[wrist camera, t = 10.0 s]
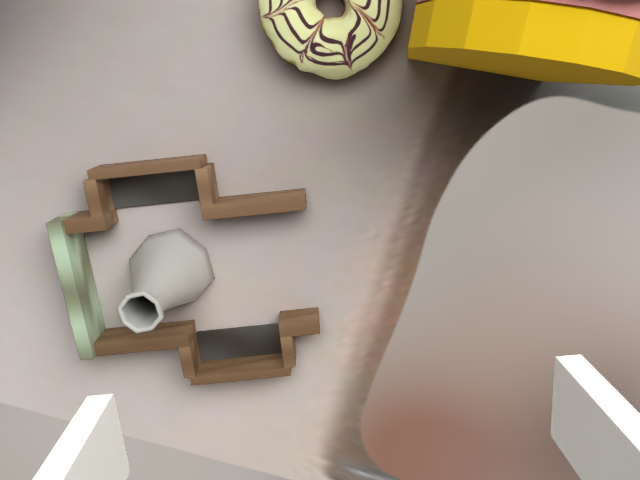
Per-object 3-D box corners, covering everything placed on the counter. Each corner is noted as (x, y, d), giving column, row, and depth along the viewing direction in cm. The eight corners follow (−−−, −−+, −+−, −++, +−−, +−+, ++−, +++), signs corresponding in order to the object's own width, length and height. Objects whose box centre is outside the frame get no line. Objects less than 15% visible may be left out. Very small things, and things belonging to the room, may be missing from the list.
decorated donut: (349, 101, 45) (353, 103, 42) (237, 28, 44) (231, 24, 40) (421, -14, 43) (432, -22, 39) (305, -96, 41) (305, -113, 38)
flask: (163, 318, 50) (129, 374, 41) (116, 255, 48) (68, 297, 39) (229, 280, 49) (209, 328, 40) (183, 214, 48) (151, 247, 38)
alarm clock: (591, -23, 43) (789, -96, 25) (562, 84, 45) (725, 87, 27) (406, -57, 42) (477, -157, 24) (386, 54, 44) (437, 37, 26)
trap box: (54, 169, 46) (33, 176, 43) (300, 144, 46) (299, 149, 43) (103, 377, 52) (89, 398, 48) (323, 355, 52) (324, 374, 48)
